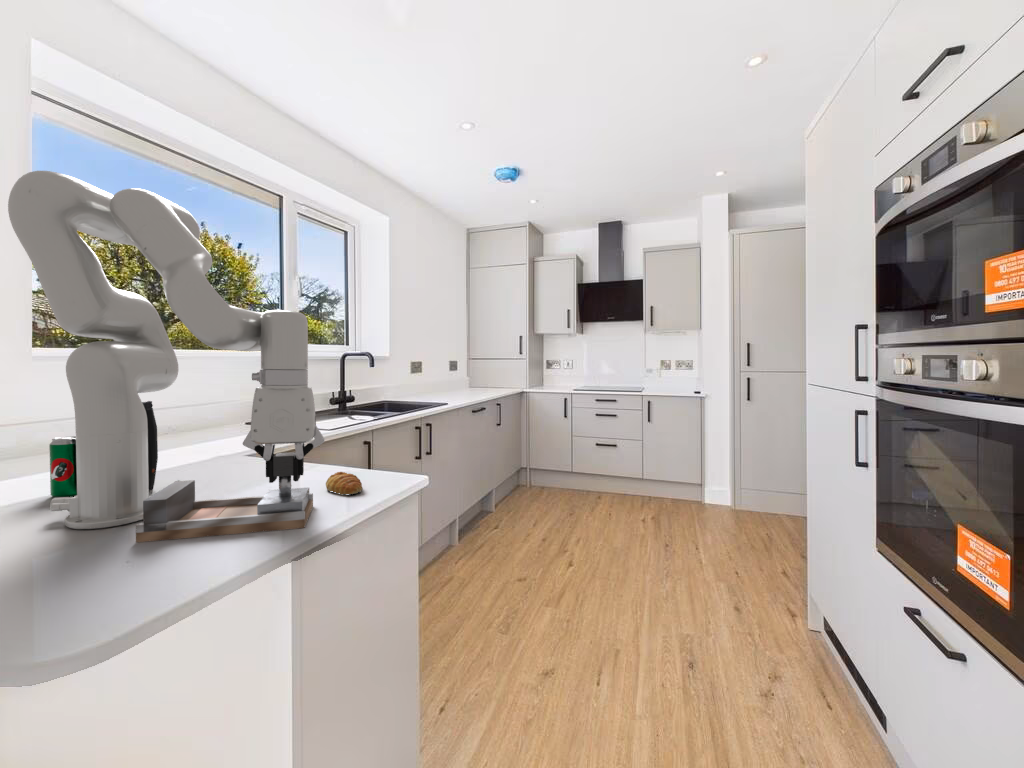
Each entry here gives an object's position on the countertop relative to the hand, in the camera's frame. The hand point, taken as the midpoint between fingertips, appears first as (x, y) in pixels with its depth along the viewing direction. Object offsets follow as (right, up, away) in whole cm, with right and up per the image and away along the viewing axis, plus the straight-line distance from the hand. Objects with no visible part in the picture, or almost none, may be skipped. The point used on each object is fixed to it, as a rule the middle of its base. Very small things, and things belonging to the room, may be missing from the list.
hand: (285, 479), depth 80 cm
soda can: (-51, -6, +11) cm, 52 cm away
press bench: (-8, -7, -2) cm, 11 cm away
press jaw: (0, -5, 0) cm, 5 cm away
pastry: (+4, -7, +19) cm, 21 cm away
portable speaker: (-40, -6, +14) cm, 43 cm away
